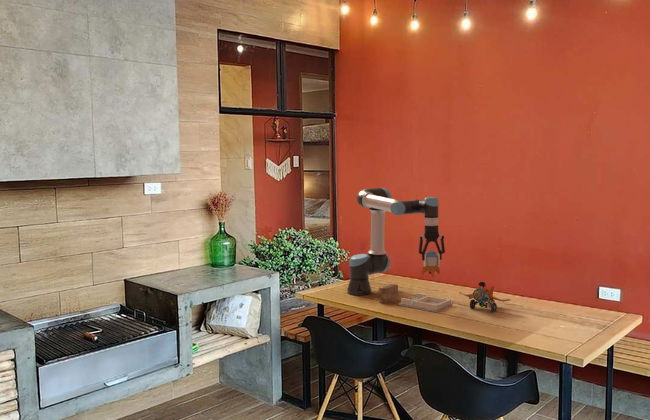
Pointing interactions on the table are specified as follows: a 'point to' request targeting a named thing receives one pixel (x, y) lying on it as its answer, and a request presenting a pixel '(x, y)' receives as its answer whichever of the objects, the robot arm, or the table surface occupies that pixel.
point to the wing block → (388, 293)
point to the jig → (426, 303)
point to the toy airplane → (483, 297)
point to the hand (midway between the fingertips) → (431, 265)
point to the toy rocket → (431, 263)
